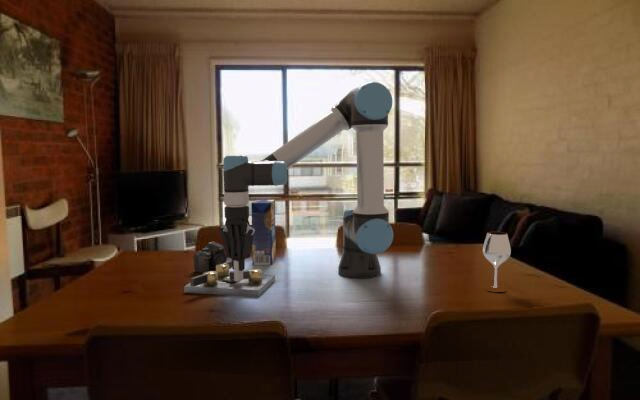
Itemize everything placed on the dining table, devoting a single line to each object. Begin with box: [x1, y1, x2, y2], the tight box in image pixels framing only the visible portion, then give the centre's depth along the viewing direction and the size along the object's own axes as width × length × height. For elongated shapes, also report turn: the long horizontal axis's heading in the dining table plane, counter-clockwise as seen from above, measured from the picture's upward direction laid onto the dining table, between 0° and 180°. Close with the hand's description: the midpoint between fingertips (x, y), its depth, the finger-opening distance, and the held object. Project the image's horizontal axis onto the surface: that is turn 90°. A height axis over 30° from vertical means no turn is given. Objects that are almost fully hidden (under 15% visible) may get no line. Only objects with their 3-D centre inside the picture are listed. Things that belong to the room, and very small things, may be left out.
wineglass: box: [482, 231, 512, 288], centre depth 150 cm, size 8×8×18 cm
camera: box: [192, 241, 228, 274], centre depth 178 cm, size 13×10×10 cm
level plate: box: [183, 272, 276, 298], centre depth 155 cm, size 24×18×3 cm
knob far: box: [215, 259, 232, 277], centre depth 164 cm, size 10×4×3 cm, turn 170°
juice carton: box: [250, 199, 277, 266], centre depth 190 cm, size 12×8×24 cm, turn 178°
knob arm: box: [229, 268, 263, 282], centre depth 153 cm, size 10×4×3 cm, turn 101°
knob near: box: [189, 270, 218, 287], centre depth 149 cm, size 10×4×3 cm, turn 150°
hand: (238, 280), depth 151 cm, fingers closed
